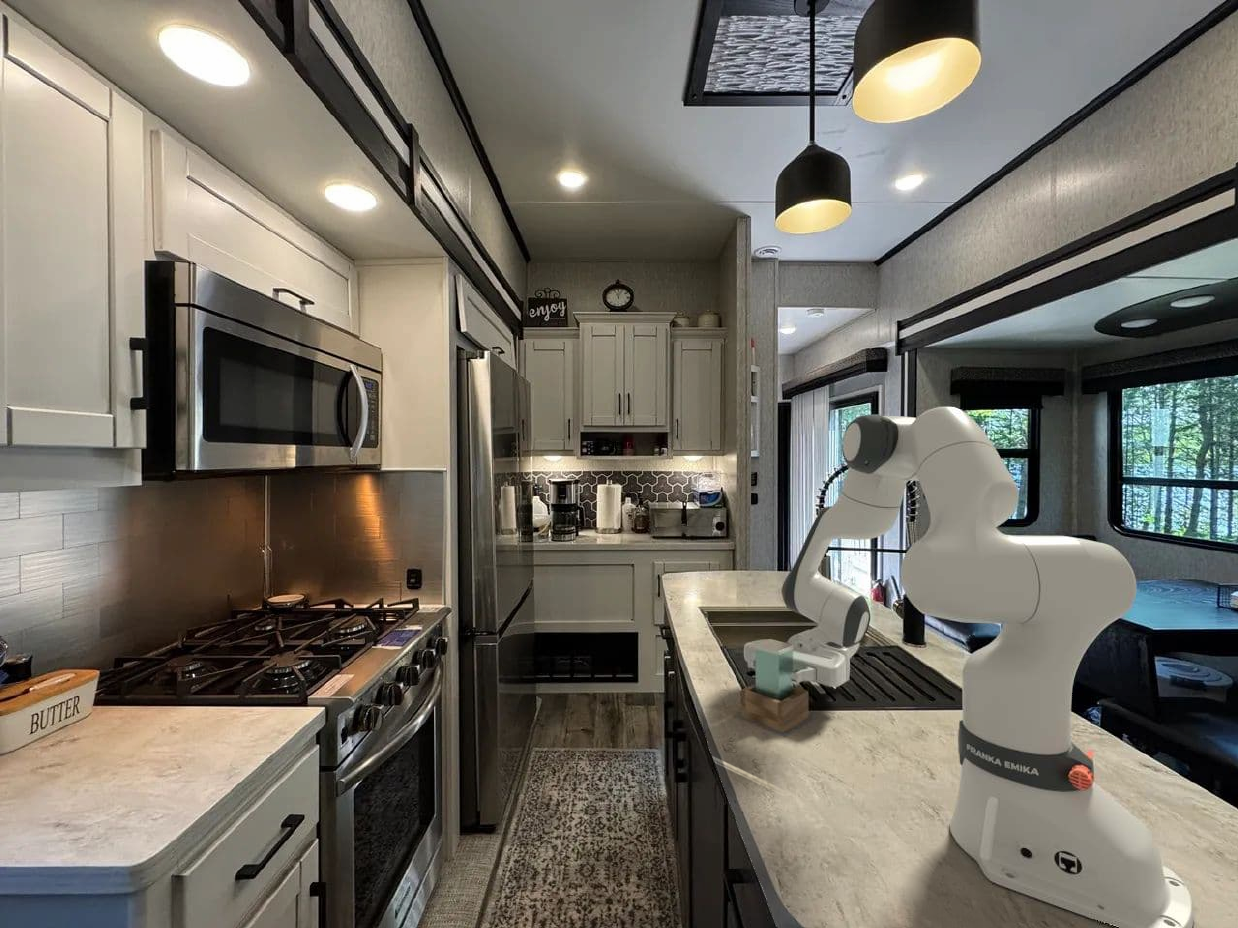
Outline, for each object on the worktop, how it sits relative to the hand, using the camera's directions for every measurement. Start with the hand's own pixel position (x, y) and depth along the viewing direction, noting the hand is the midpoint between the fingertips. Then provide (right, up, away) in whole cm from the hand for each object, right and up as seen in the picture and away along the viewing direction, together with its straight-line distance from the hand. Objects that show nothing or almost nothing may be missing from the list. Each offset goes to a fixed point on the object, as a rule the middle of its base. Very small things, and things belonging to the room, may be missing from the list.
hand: (771, 670), depth 104 cm
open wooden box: (+1, -9, 0) cm, 9 cm away
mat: (+1, -9, 0) cm, 9 cm away
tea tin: (+1, -8, +1) cm, 8 cm away
